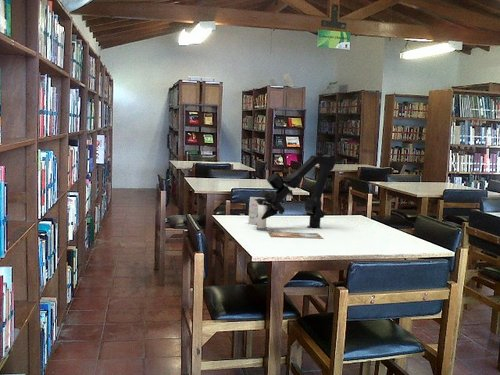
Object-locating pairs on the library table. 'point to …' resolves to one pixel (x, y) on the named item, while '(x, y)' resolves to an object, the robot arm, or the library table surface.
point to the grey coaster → (308, 235)
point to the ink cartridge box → (253, 210)
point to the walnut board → (295, 235)
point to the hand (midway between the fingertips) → (259, 218)
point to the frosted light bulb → (261, 223)
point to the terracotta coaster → (281, 234)
